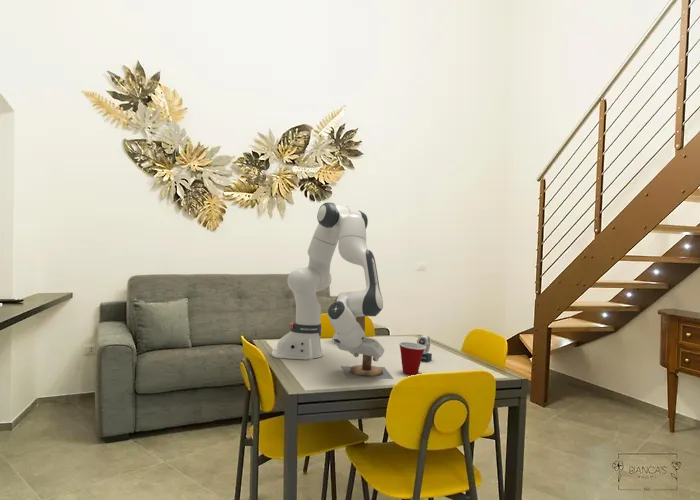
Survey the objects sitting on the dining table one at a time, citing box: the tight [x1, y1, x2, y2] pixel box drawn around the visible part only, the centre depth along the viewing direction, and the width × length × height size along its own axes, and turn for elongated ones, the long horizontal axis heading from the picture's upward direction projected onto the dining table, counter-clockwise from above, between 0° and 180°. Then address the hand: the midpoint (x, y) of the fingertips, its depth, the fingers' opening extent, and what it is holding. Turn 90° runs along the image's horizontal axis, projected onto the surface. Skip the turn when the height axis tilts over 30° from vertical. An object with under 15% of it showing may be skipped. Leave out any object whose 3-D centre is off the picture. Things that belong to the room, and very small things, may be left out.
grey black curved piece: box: [416, 335, 433, 363], centre depth 240 cm, size 6×8×11 cm
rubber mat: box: [341, 365, 394, 380], centre depth 212 cm, size 18×18×1 cm
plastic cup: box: [398, 341, 426, 376], centre depth 214 cm, size 11×11×12 cm
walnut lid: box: [350, 354, 383, 377], centre depth 212 cm, size 13×13×8 cm
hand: (366, 357), depth 211 cm, fingers open, 8 cm apart
